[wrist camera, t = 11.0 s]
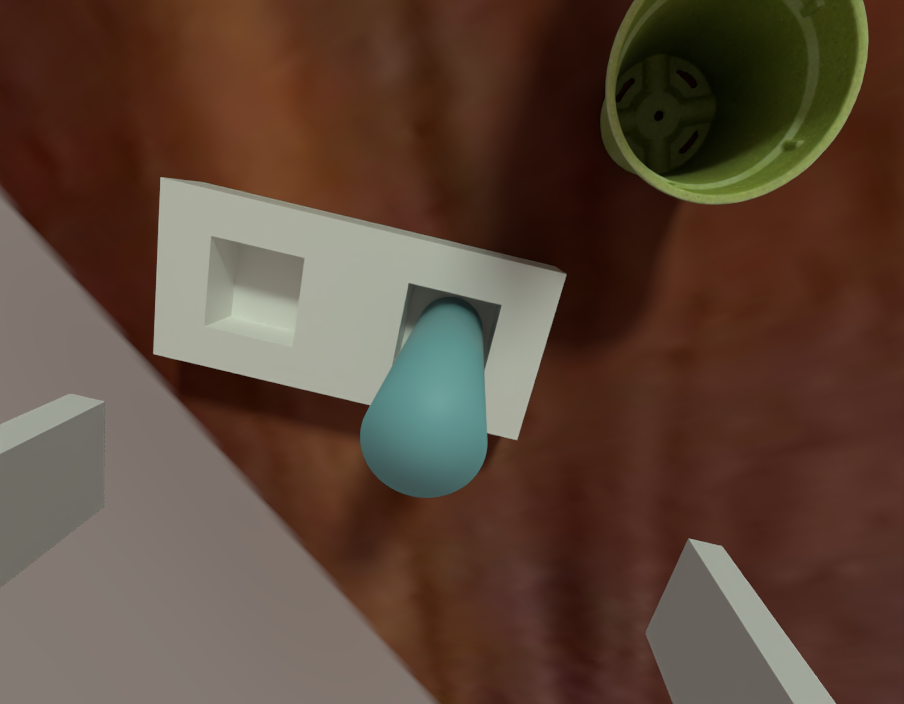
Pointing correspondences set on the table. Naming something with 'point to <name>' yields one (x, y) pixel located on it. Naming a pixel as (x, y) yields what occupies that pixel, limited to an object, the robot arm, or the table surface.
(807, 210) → the table surface
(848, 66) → the plant pot
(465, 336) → the teal pin
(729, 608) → the robot arm
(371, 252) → the hole block
